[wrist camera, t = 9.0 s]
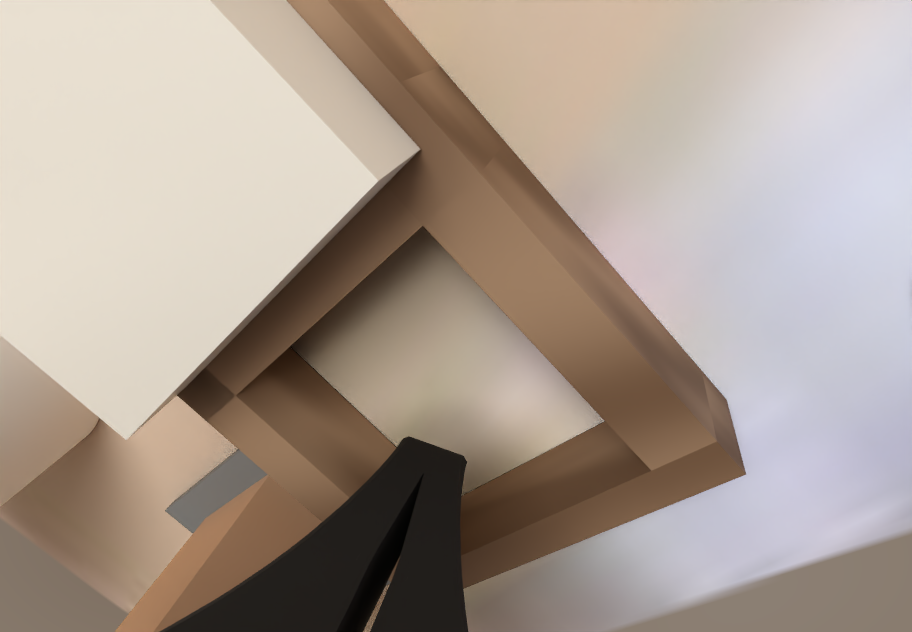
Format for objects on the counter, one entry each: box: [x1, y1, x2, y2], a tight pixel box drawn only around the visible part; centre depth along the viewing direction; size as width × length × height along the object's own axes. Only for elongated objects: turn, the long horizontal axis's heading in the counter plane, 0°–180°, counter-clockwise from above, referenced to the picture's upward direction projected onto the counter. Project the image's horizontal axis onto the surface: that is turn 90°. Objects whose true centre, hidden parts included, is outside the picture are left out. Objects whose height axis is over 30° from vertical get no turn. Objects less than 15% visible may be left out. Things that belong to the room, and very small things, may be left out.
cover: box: [0, 0, 420, 440], centre depth 10 cm, size 9×9×2 cm
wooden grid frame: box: [177, 0, 746, 589], centre depth 13 cm, size 18×10×2 cm, turn 45°
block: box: [115, 475, 322, 632], centre depth 17 cm, size 4×4×6 cm
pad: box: [165, 449, 391, 585], centre depth 20 cm, size 7×7×1 cm
